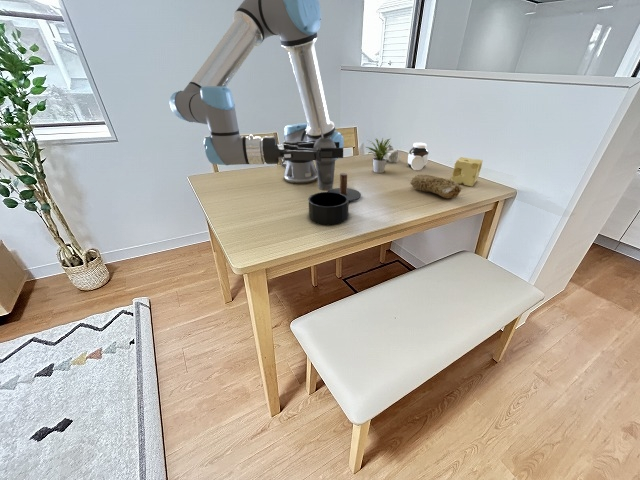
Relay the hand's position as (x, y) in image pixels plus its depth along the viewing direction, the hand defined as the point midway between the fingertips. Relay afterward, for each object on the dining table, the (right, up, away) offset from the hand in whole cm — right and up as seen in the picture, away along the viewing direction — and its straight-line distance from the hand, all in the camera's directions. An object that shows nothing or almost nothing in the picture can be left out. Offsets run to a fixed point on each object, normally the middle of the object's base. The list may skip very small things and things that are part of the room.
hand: (340, 149), depth 84 cm
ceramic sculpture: (+24, +24, +74) cm, 82 cm away
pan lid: (0, -7, +28) cm, 28 cm away
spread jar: (+39, +16, +64) cm, 77 cm away
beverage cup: (-5, -10, +6) cm, 13 cm away
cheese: (+57, +4, +47) cm, 74 cm away
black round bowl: (-5, -18, +12) cm, 23 cm away
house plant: (+18, +13, +58) cm, 62 cm away
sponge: (+38, -5, +34) cm, 52 cm away
